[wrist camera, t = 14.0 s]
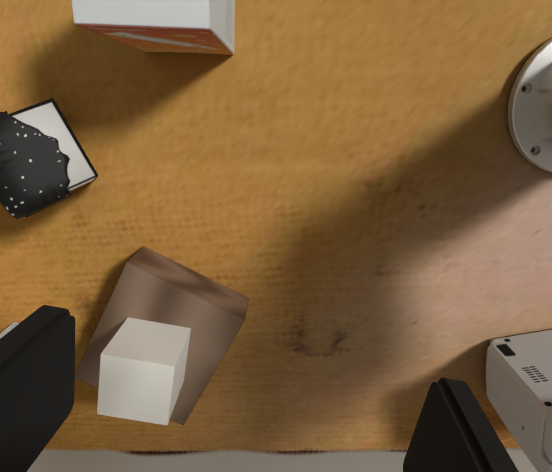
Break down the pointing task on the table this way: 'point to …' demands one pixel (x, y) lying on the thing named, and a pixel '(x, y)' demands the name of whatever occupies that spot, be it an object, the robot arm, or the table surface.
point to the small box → (162, 23)
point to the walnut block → (171, 319)
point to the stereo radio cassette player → (524, 391)
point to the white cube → (143, 371)
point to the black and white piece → (39, 159)
